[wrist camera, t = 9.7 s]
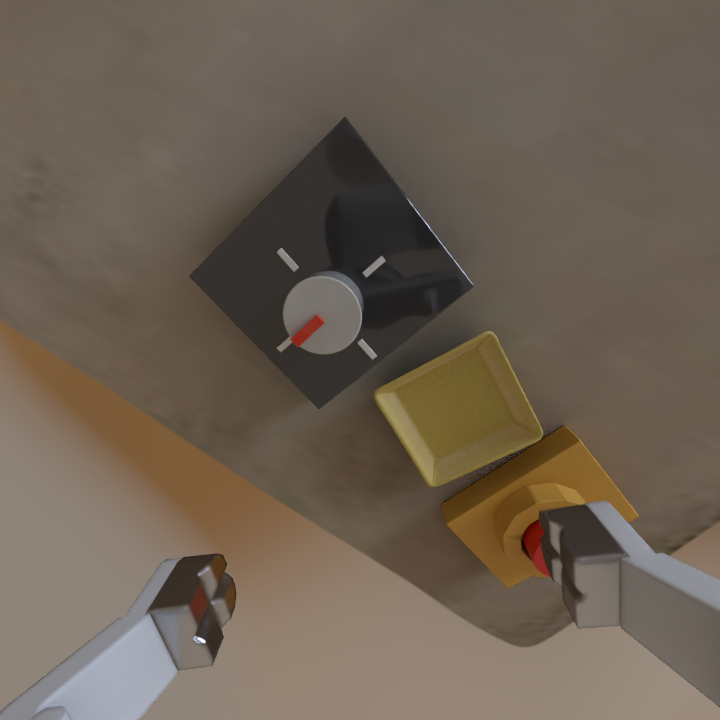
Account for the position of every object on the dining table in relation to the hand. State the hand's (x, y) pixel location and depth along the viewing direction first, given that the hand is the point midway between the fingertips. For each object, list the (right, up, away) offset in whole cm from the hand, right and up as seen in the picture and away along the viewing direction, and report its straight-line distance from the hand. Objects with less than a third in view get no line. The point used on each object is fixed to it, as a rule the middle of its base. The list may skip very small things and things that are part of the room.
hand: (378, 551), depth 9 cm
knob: (-2, +8, +12) cm, 15 cm away
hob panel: (-2, +10, +14) cm, 18 cm away
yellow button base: (+13, -6, +19) cm, 24 cm away
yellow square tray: (+6, +2, +17) cm, 18 cm away
